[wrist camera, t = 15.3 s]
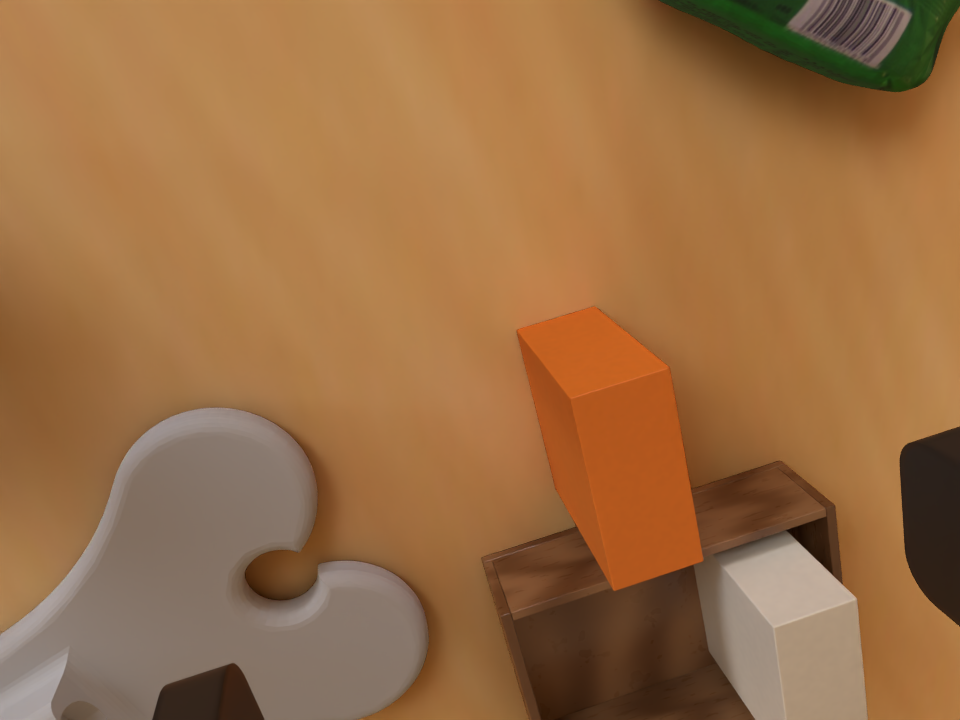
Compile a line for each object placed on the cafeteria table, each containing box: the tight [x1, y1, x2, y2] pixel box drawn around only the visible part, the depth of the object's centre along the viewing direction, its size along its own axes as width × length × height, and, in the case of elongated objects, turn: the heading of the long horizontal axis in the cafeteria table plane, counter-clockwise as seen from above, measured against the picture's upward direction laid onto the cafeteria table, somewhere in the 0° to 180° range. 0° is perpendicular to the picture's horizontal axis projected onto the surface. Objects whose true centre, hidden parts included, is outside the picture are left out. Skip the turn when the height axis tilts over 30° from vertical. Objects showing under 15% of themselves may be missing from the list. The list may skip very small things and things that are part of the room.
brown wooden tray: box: [482, 461, 843, 720], centre depth 42 cm, size 17×12×5 cm
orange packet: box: [517, 306, 704, 591], centre depth 36 cm, size 4×9×9 cm, turn 14°
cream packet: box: [694, 530, 868, 720], centre depth 40 cm, size 4×9×9 cm, turn 14°
